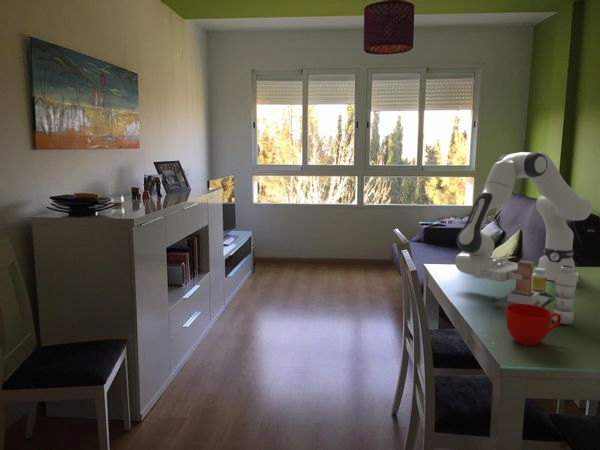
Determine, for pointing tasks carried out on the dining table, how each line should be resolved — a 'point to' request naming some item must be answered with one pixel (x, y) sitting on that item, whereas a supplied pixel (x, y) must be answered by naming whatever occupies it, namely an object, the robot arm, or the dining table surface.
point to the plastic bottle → (564, 295)
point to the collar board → (522, 299)
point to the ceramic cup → (529, 323)
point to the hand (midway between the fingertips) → (526, 276)
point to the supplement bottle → (538, 281)
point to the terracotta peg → (527, 271)
